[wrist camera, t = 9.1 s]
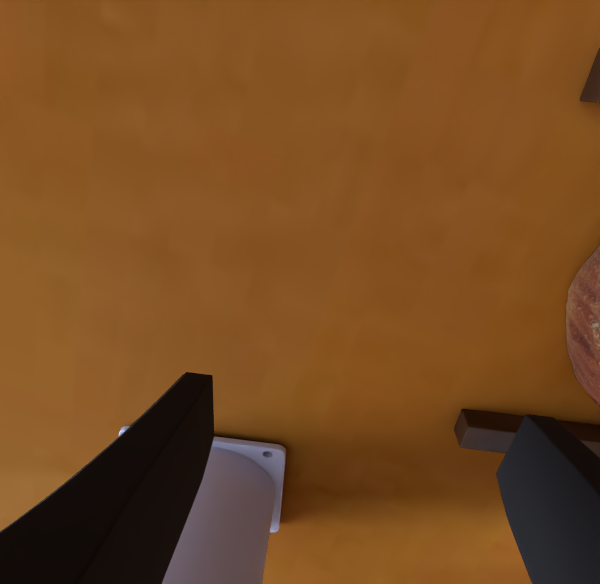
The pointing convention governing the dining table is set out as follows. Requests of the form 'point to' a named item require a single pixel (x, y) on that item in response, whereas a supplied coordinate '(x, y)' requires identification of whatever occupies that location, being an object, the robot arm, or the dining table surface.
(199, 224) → the dining table surface
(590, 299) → the bread roll
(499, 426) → the dark gray u-shaped frame
